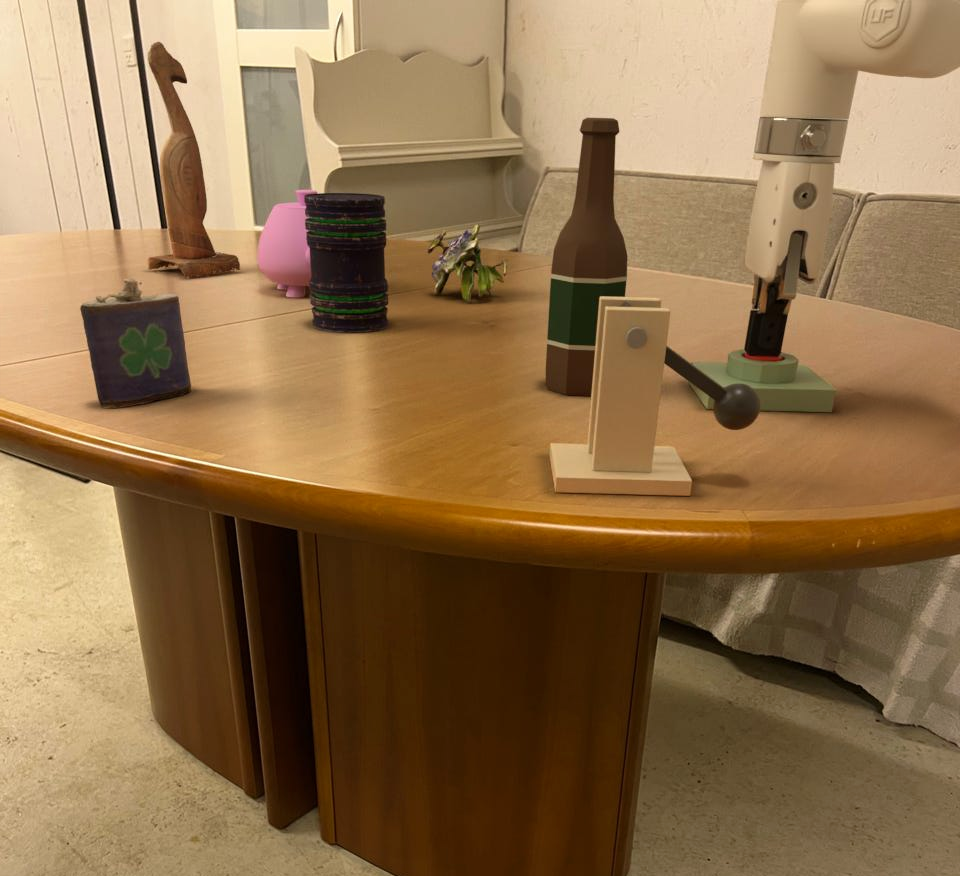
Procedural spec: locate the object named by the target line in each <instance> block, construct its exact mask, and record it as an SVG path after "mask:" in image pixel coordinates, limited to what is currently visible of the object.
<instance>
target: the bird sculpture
mask: <svg viewBox="0 0 960 876" xmlns="http://www.w3.org/2000/svg"><path fill="white" fill-rule="evenodd" d="M147 62H148V66H149V68H150V71H151V73H152V75H153V77H154V80H155V81H156V84H157V87H158V90H159V93H160V95H161V99H162V102H163V104H164V107H165V109H166V113H167V118H168V121H169V125H170V131H171V132H170V134H169V135H168V137H167V138H166V140H165V142H164V143H163V146H162V149H161V153H160V156H159V175H160V182H161V190H162V196H163V197H162V198H163V199H162V200H163V205H164V211H165V217H166V224H167V229H168V236H169V240H170V245H171V251H172V253H171V254H166V255H157V256H156V255H155V256H151V257H148V258H147V265H148V267H147V269H148V270H150V271H151V270H159V269H162V268H164V267H165V268H170V267H175V266H177V267H178V268H179V270H180V271H181V273H182V274H183V277H185V279H187V276H188V277H189V278H190V279H192V277H194V276H195V277H196V278H197V277H199V278H200V277H201V276H202V275H203V276H209V275H211V274H212V275H216V274H222V273H226V272H228V273H229V272H232V271H234V272H235V271H239V270H241V263H240V259H239V258H238V256H237V255H235V254H228V253H224V252H220V251H216V250H215V249H214V246H213V243H212V241H211V238H210V236H209V234H208V232H207V229H206V228H205V225H204V220H205V217H206V215H207V210H208V199H207V191H206V183H205V177H204V169H203V163H202V158H201V152H200V148H199V147H200V145H199V143H198V140H197V137H196V134H195V130H194V128H193V126H192V123H191V120H190V118H189V116H188V114H187V112H186V110H185V108H184V105H183V103H182V101H181V98H180V96H179V94H178V92H177V90H176V88H175V86H174V83H175V82H176V83H177V82H178V83H179V84H185V85H187V84H188V79H187V75H186V72H185V69H184V68H183V65H182V64H181V62H179V60H177V59H175V58H174V57H173V56H172V55H171V53H169V52H168V51H167V49H166V47H165V45H164V44H163V43H162V42H161V41H156V42H153V43H152V44H150V49H149V51H148V52H147Z"/></svg>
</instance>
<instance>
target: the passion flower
mask: <svg viewBox="0 0 960 876" xmlns="http://www.w3.org/2000/svg"><path fill="white" fill-rule="evenodd" d="M480 228H481V227H480V224H475V225H474V226H473V229H472V230H471V231H470V232H469V230H468V229H467V230H464V232H463V234H459V236H458V237H455V239H452V241H450V242H449V241H448V242H447V243H448V245H447V246H445V244H444V243H443V242H442V241H443V239H444V238H445V236H446V235H447V232H446V231H445V230H443V232H441V233H440V234H439V235H437V237H434V240H433V241H432V242H431V244H430V245H429V247H428V249H427V254H431V253H432V252H433V251H434V250H435V249H436V248H437V247H441V249H442V252H441V253H439V256H438V259H437V260H436V261H435V263H433V264H432V265H431V269H432V272H431V277H432V280H433V282H435V283H436V284H435V287H434V288H435V289H434V291H433V295H435V296H440V295H441V294H443V291H444V289H445V286H446V284H447V282H448V280H449V278H450V276H451V273H453V272H454V271H455V274H456V276H457V277H458V279H460V289H461V290H460V291H461V297H462V299H463V300H464V301H466V302H467V303H468V304H471V300H472V299H471V298H472V294H473V292H474V288H475V274H476V276H477V281H476V283H477V290H478V291H477V294H478V297H479V298H481V297H482V296H484V294H486V292H487V293H488V294H489V296H490V297H491V296H492V294H491V290H492V289H493V288H494V285H495V280H497V281H498V282H500V283H502V284H503V283H504V282H505V281H504V278H503V276H504V277H506V275H507V271H508V270H507V269H508V265H507V264H508V260H509V259H504V260H501V262H500V263H498V264H495V265H493V266H492V265H488V264H486V265H485V264H484V265H483V264H482V258H481V254H482V250H481V248H480V247H479V243H480V241H479V238H478V234H479V231H480ZM468 262H472V263H471V265H468V264H467V263H468ZM500 266H502V267H503V268H502V272H503V273H502V275H503V276H502V275H501V273H500V272H499V271H498V270H497V268H496V267H500Z"/></svg>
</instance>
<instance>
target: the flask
mask: <svg viewBox="0 0 960 876" xmlns="http://www.w3.org/2000/svg"><path fill="white" fill-rule="evenodd" d="M123 282H124V287H123V288H122V290H121V291H119V292H117V294H107V296H103V297H102V296H100V295H99V294H98V295H96V296H95V300H94V299H93V300H89V301H87V302H83V303H82V304H81V305H80V306H79V307H80V308H79V310H80V313H81V317H82V321H83V322H82V323H83V329H84V334H85V337H86V343H87V348H88V352H89V359H90V365H91V366H90V367H91V369H92V374H93V378H94V379H93V381H94V384H95V390H96V394H97V395H96V396H97V400H98V402H99V405H98V406H99V407H101V408H103V409H105V408H106V409H110V408H113V409H117V408H123V407H129V406H135V405H140V404H141V405H143V404H147V403H150V402H154V401H155V400H165V399H169V398H170V399H171V398H174V397H177V396H184V395H185V394H186V393H191V389H192V382H191V377H190V371H189V365H188V358H187V357H188V356H187V351H186V350H187V349H186V341H185V340H186V339H185V333H184V328H183V323H182V314H181V305H180V298H179V296H178V294H174V293H158V294H157V293H156V294H151V295H143V296H141V295H142V293H143V290H141V289H139V285H142V283H143V282H142V281H139V282H138V281H137V280H136V279H135V278H124V279H123ZM109 298H113V299H109Z"/></svg>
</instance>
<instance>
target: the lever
mask: <svg viewBox="0 0 960 876" xmlns="http://www.w3.org/2000/svg"><path fill="white" fill-rule="evenodd" d="M621 307H632V306H631V305H630V304H628V303H627V302H626V301H624V302H623V304H622V305H621ZM664 365H665V366H667V367H668V368H669V369H671V370H672V371H674V372H675V373H677V374H678V375H680V377H682V378H683V379H685V380H686V381H687V382H688V381H689V382H690V383H692V384H693V385H694V386H696V387H697V388H699V389H700V390H701V391H703V392H704V393H705V394H707V395H708V396H709V397H711V398H712V399H714V400H715V401H714V405H713V409H712V410H713V416H714V418H715V420H716V422H717V423H718V424H719V425H720V426H721V427H723V428H724V429H726V430H731V431H740V430H744V429H747V428H748V427H750V426H752V425H753V423H754V422H755V421H756V420H757V419H758V417H759V415H760V399H759V396H758V394H757V392H756V391H755V390H754V389H753V388H752V387H750V386H748V385H746V384H742V383H735V384H731V385H728V386H726V387H725V388H723V387H722V386H721V385H719V384H718V383H717V382H715V381H714V380H713V379H711V378H710V377H709V376H707V375H706V374H704V373H703V372H702V371H700V370H699V369H698V368H696V367H695V366H694V365H692V364H691V361H689V360H687V359H686V358H684V357H683V356H682V355H680V354H678V353H677V352H676V351H675V350H673V349H672V348H671V347H669V346H668V345H666V353H665V362H664Z"/></svg>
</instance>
